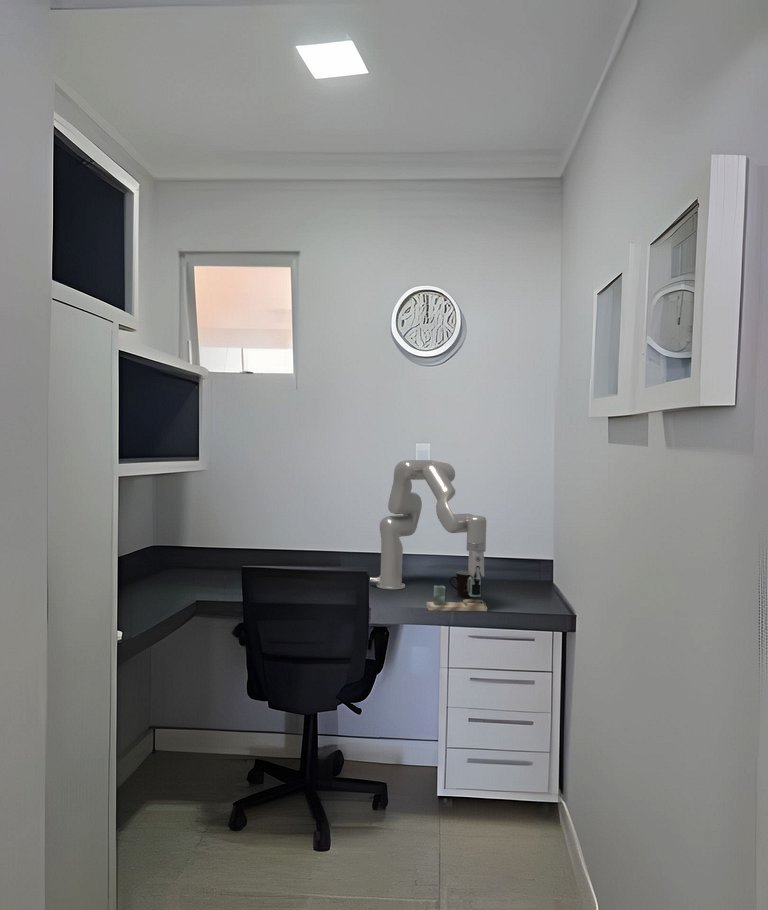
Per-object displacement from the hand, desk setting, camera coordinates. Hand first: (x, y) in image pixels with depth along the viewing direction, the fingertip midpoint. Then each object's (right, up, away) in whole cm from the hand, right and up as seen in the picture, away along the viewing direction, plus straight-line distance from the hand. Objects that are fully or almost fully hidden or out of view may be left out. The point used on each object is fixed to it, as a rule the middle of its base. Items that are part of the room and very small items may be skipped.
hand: (474, 592), depth 318 cm
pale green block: (0, -1, 0) cm, 1 cm away
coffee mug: (-3, -6, +23) cm, 24 cm away
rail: (-7, -6, 0) cm, 9 cm away
